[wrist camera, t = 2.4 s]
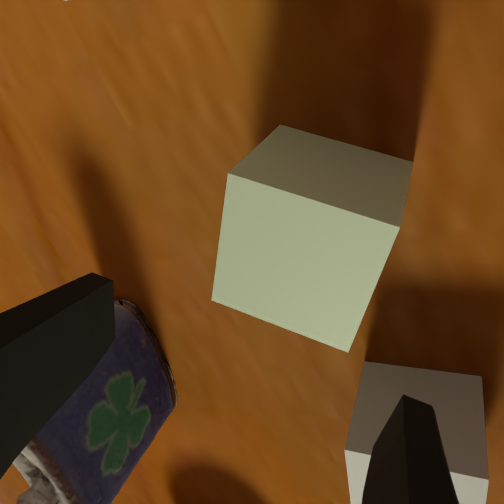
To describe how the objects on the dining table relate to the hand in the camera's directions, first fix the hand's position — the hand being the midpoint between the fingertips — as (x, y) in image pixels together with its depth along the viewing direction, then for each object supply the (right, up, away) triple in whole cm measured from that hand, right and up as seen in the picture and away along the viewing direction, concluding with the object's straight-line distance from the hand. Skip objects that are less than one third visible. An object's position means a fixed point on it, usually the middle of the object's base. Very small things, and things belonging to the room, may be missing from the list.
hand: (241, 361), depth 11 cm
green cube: (+3, +5, +7) cm, 9 cm away
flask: (-6, -4, +17) cm, 19 cm away
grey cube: (+8, -5, +11) cm, 15 cm away
